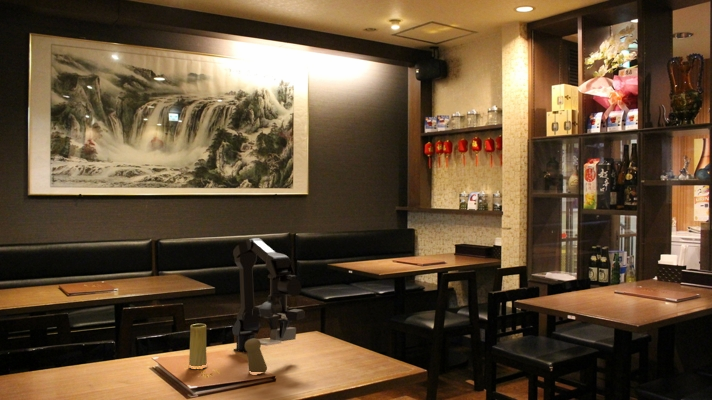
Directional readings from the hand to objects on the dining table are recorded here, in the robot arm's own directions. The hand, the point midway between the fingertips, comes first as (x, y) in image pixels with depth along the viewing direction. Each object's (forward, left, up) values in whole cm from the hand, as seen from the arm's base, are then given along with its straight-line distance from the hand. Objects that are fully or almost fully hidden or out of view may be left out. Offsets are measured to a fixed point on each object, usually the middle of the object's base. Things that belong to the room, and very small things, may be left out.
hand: (278, 337), depth 206 cm
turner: (0, 0, -1) cm, 1 cm away
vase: (-21, -17, -10) cm, 29 cm away
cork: (0, -11, -9) cm, 14 cm away
